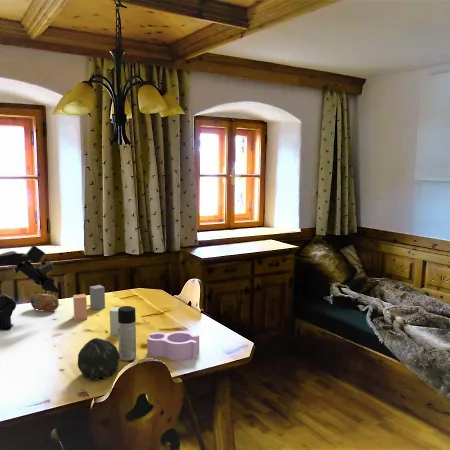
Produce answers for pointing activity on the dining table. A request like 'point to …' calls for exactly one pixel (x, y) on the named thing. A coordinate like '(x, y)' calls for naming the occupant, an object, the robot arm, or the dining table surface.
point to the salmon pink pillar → (80, 307)
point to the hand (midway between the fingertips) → (55, 289)
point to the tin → (45, 302)
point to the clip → (173, 345)
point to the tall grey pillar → (97, 297)
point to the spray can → (127, 333)
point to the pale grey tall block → (114, 321)
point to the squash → (98, 359)
